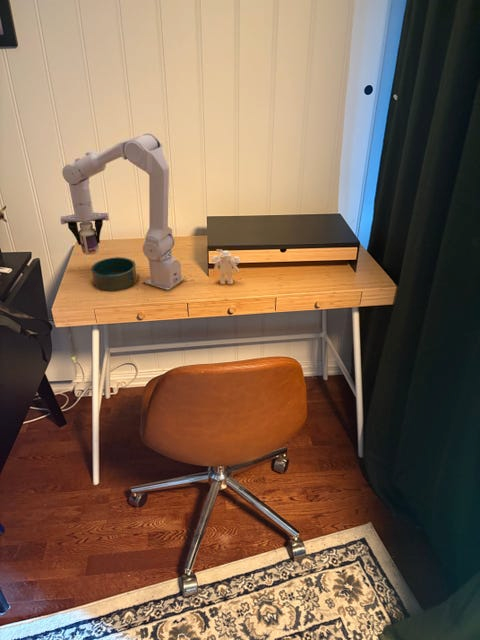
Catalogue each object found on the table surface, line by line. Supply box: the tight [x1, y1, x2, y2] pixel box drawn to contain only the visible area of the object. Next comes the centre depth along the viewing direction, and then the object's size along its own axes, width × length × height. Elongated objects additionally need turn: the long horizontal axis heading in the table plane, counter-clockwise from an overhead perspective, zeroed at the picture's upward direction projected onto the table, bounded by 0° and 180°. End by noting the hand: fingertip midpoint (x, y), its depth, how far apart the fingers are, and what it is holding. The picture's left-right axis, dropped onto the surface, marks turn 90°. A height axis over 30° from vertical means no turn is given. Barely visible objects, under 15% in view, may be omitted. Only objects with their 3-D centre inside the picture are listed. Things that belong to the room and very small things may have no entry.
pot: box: [90, 256, 138, 292], centre depth 152 cm, size 14×14×5 cm
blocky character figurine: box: [211, 248, 242, 285], centre depth 148 cm, size 9×4×12 cm, turn 86°
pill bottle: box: [78, 221, 100, 256], centre depth 154 cm, size 5×5×10 cm
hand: (89, 242), depth 155 cm, fingers closed on pill bottle, 5 cm apart
